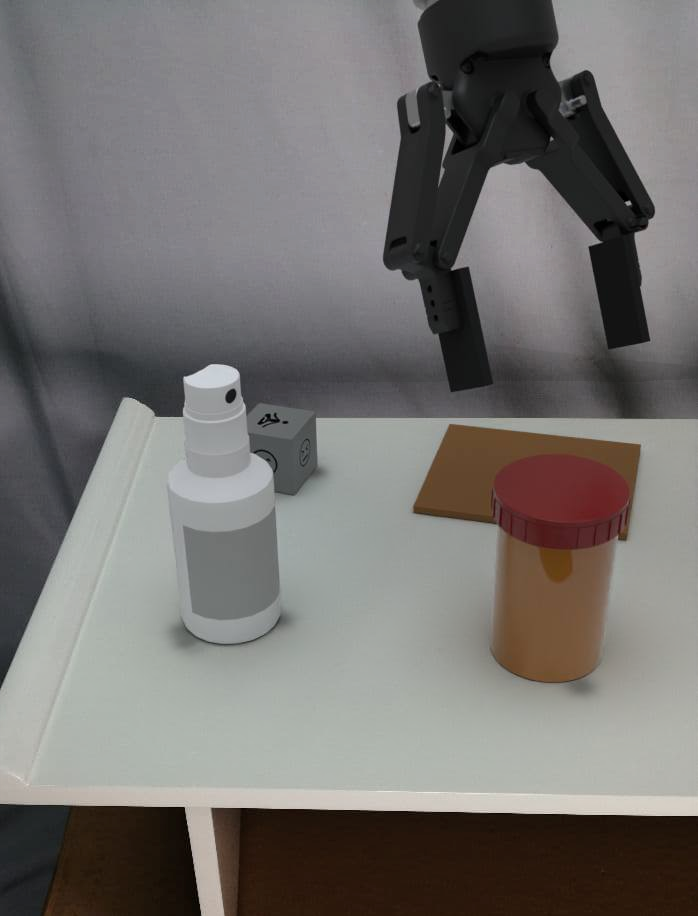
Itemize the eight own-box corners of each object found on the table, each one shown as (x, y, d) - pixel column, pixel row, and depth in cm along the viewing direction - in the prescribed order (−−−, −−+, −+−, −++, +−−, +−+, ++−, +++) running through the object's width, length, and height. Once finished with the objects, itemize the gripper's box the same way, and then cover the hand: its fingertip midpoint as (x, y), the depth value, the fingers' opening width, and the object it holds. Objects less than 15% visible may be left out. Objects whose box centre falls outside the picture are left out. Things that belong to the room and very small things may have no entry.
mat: (640, 450, 97) (641, 444, 97) (626, 540, 86) (627, 533, 86) (449, 429, 102) (449, 423, 101) (413, 512, 91) (413, 506, 90)
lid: (632, 488, 73) (636, 461, 72) (621, 559, 66) (625, 530, 65) (502, 473, 75) (504, 447, 74) (480, 540, 69) (481, 512, 68)
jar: (607, 622, 78) (627, 471, 72) (596, 691, 72) (617, 533, 66) (499, 606, 80) (509, 457, 74) (480, 672, 74) (489, 517, 68)
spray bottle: (230, 659, 76) (208, 412, 67) (161, 618, 81) (131, 379, 71) (302, 612, 80) (291, 371, 71) (233, 575, 85) (214, 343, 75)
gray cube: (262, 456, 99) (259, 403, 96) (317, 465, 97) (315, 411, 95) (237, 484, 95) (233, 430, 93) (294, 495, 94) (291, 439, 91)
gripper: (577, 15, 76) (639, 339, 79) (265, 27, 63) (353, 416, 66) (673, -33, 70) (736, 320, 73) (348, -31, 57) (441, 401, 59)
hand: (554, 366), depth 69 cm, fingers open, 13 cm apart
